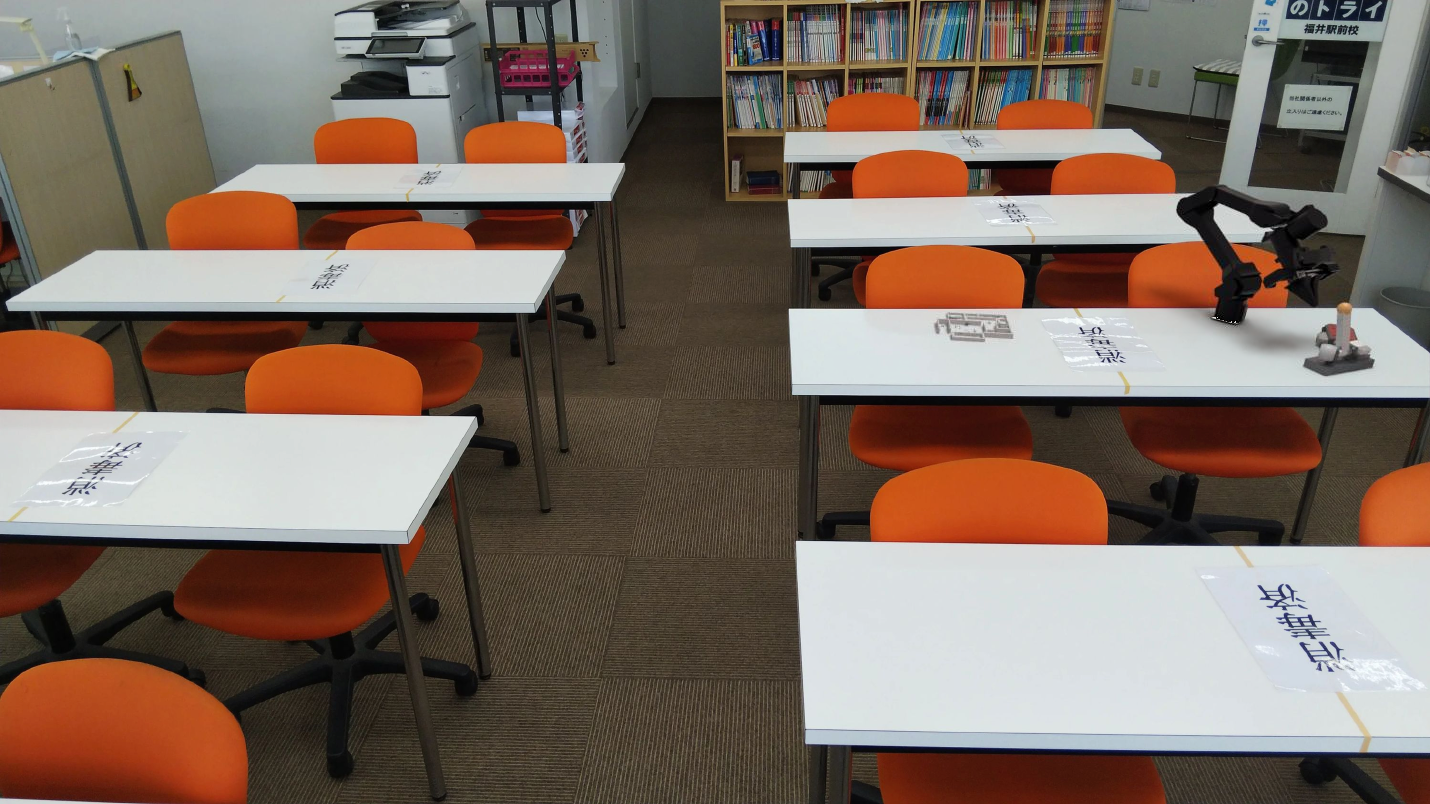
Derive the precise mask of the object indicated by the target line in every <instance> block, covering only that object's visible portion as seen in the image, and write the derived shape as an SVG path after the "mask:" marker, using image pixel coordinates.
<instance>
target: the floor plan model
mask: <svg viewBox="0 0 1430 804" xmlns="http://www.w3.org/2000/svg"><path fill="white" fill-rule="evenodd" d="M946 317H947V318H940V317H939V318H936V327H937V333H938V335H940V332H941V328H944V327H945V325H947V327H948V332H949V334H950V336H951V341H956V342H957V341H959V342H976V343H977V342H978V343H985V342H986V338H991V339H992V338H993V339H1009V340H1011V339H1014V331H1013V330H1012V327H1011V326H1012V325H1010V321H1009V319H1008V316H1007V314H993V313H992V314H991V313H968V312H967V313H965V312H951V311H950V312H948V311H947V312H946ZM982 321H984V322H983V324H982ZM985 321H988V322H987V323H986V322H985ZM990 321H994V322H995V321H996V322H995V325H994V328H987V324H989V325H990V324H992V322H990ZM1004 322H1005V323H1004ZM952 325H954V327H955V329H957V327H958V329H961V326H978V327H982V329H983V332H977V331H976V329H974V328H973V331H974V332H971V331H967V329H964V331H955V330H954V331H952ZM960 325H961V326H960ZM994 329H995V330H994ZM994 331H995V332H994Z"/></svg>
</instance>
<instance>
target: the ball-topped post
mask: <svg viewBox="0 0 1430 804" xmlns="http://www.w3.org/2000/svg"><path fill="white" fill-rule="evenodd" d="M1336 311H1337V312H1336V324H1337V327H1336V347H1337V349H1339V350H1340V353H1339V356H1338V358H1342V357H1348V356H1351V355H1352V350H1351V349H1350V348H1349V344H1350V327H1351V325H1352V324H1351V323H1352V322H1351V321H1352V311H1353V306H1352V305H1351V303H1349V302H1341V303H1340V304H1337V307H1336Z"/></svg>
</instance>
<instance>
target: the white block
mask: <svg viewBox="0 0 1430 804" xmlns="http://www.w3.org/2000/svg"><path fill="white" fill-rule="evenodd" d="M1350 344H1352V345H1354V346H1357V347H1358V350H1357V353H1358V354H1360V355H1362V354H1370V353H1371V351H1372V347H1370V346H1368V345H1366V344H1365V343H1363V342H1361V341H1360V340H1359V339H1358V340H1356V341H1350Z"/></svg>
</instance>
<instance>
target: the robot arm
mask: <svg viewBox="0 0 1430 804" xmlns="http://www.w3.org/2000/svg"><path fill="white" fill-rule="evenodd" d="M1219 204H1220V205H1223V206H1224V207H1226V208H1229V209H1232V210H1234V211H1236V212H1239V213H1241V214H1243V215H1245V216H1246V217H1248V219H1249V221H1250V222H1252V223H1253V224H1254V225H1256V226H1258V228H1260V229H1270V228H1274V229H1273V230H1269V231H1265V232H1264V233H1263V234H1264V235H1263V237H1262V238H1261V240H1260V242H1261V243H1262V244H1264V243H1265V244H1266V243H1271V246H1272V248H1273V250H1274V252H1275V255H1276V258H1275V259H1274V262H1275V264H1280V265H1281V267H1280V268H1277V269H1276V270H1273V271H1272V272H1271V273H1268V274H1267V275H1265V276H1263V278H1262V276H1261V275H1262V272H1261V271H1259V270H1258V268H1257V266H1256V264H1255V263H1254V262H1253V261H1249V262H1247V261H1246V262H1244V261H1243V260H1241V258H1240V257H1239V255H1238V254H1237V253H1236V250H1235V249H1234V248H1233V246H1232V245H1231V244H1230V241H1229V240H1228V238H1227V237H1226V236H1225V234H1224V233H1223V231H1222V230H1221V228H1220V227H1219V225H1218V224H1217V222H1216V221H1215V207H1217V206H1219ZM1175 211H1176V214H1177V216H1178V218H1180V219H1181V220H1182V221H1183V222H1184V223H1185V224H1187V225H1188V226H1190V227H1191V228H1193V229H1194V230H1195V231H1196V232H1197V233H1198V235H1199V236H1200V238H1201V240H1202V241H1203V242H1204V244H1205V246H1206V248H1207V249H1208V251H1209V252H1210V253H1211V255H1212V257H1213V259H1214V260H1215V261H1216V263H1217V265H1218V267H1220V270H1221V271H1222V272H1221V282H1222V283H1221V284H1219V285H1218V286H1216V287H1214V289H1213V290H1214V293H1213V295H1214V297H1215V298H1217V302H1216V307H1215V310H1214V314H1213V315H1214V316H1213V315H1212V316H1211V317H1216V319H1220V320H1224V321H1227V322H1231V321H1232V323H1234V322H1235V321H1236V323H1238V324H1240V323H1241V322H1243V321H1244V320H1245V319H1246V316H1247V313H1248V309H1249V304H1248V300H1249V299H1253V298H1254V297H1255V295H1256V294H1257V293H1258V292H1259V291H1260V290H1261V287H1262V284H1263V286H1264V289H1265V290H1269V289H1274V288H1276V286H1277V285H1278V283H1279V282H1285V281H1287V282H1286V283H1287V285H1285V286H1284V287H1283V288H1284V290H1287V291H1289V292H1291V293H1292V294H1293V295H1296V296H1297V297H1298V298H1299V299H1300V300H1302V301H1304V302H1305V303H1306V304H1308V305H1309V307H1312V308H1316V307H1318V306H1319V282H1323V281H1324V280H1326V279H1328V278H1330V277H1331V276H1333V275H1335V274H1338V273H1339V272H1341V268H1340V266H1339V265H1338V262H1335V261H1333V258H1334V257H1335V256H1336V250H1335V247H1334V246H1333V244H1332V243H1329V244H1323V245H1320V247H1319V248H1317V249H1312V250H1311V248H1310V247H1309V246H1303V244H1302V242H1301V241H1305V240H1308V239H1309V238H1311V237H1312V236H1314V235H1316V234H1317V233H1319V232H1320V231H1322V230H1324V229H1325V228H1327V227H1328V224H1329V220H1328V216H1327V214H1324V212H1322V211H1321V210H1320V209H1318V208H1315V205H1314V204H1311V203H1310V204H1306V205H1304V206H1303V207H1301V209H1299V210H1298V211H1296V210H1293V209H1291V206H1290V205H1289V204H1287V203H1284V202H1280V201H1272V200H1261V199H1259V198H1255V197H1253V196H1251V195H1249V194H1246V193H1244V192H1241V191H1238V190H1236V189H1234V188H1232V187H1229V186H1228V185H1226V184H1224V183H1222V184H1219V183H1218V184H1212V185H1211V184H1210V185H1209V186H1207V187H1206V188H1203V189H1201V190H1200V191H1197V192H1194V193H1193V194H1191V195H1189V196H1184V197H1181V198H1180V199H1179V200H1178V202H1177V205H1176V209H1175ZM1217 317H1218V318H1217ZM1227 322H1226V323H1227ZM1239 322H1240V323H1239Z"/></svg>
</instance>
